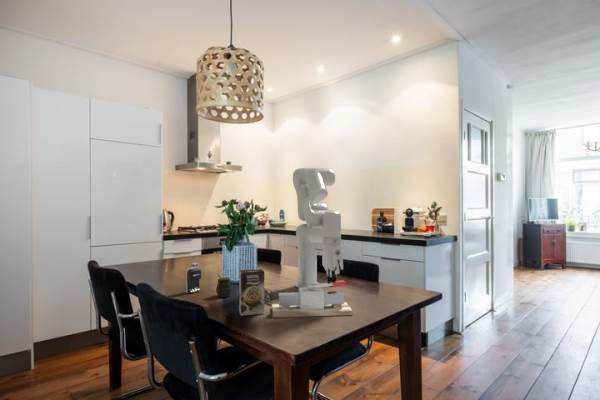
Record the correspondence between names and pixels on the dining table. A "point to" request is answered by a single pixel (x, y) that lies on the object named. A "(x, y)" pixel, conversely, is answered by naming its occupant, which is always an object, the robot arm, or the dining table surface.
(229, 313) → the dining table surface
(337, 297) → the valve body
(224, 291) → the mate gourd
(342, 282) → the lever
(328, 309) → the valve board
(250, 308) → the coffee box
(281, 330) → the dining table surface
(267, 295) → the walkie-talkie
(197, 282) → the battery charger
